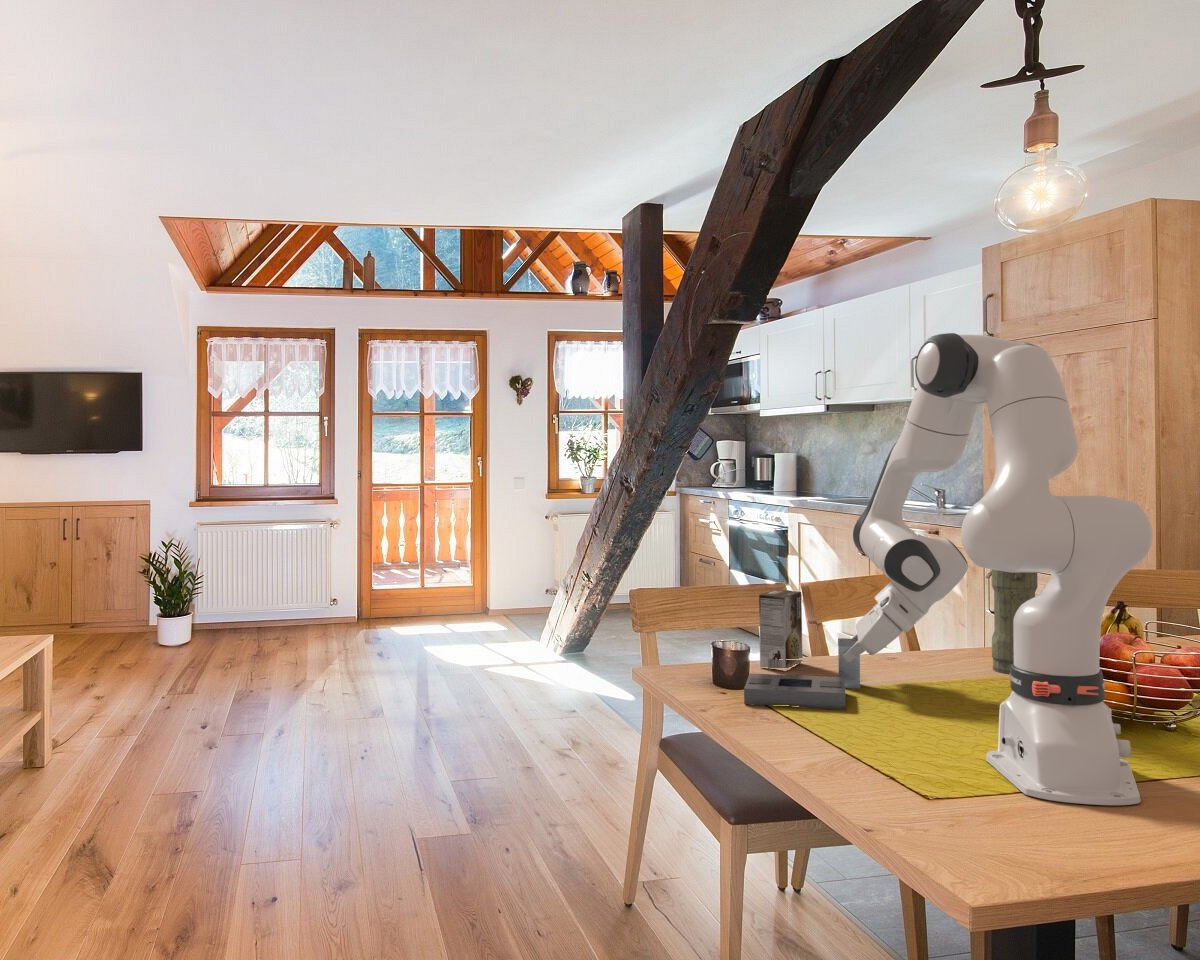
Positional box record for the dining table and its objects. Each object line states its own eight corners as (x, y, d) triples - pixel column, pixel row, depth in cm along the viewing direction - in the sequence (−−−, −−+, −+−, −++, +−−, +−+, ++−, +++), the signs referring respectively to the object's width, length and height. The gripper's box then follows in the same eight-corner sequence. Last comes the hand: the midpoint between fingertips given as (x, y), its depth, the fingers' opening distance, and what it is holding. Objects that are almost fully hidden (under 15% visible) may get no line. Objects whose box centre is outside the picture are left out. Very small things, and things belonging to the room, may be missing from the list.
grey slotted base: (845, 709, 159) (845, 692, 159) (744, 704, 163) (743, 687, 163) (844, 693, 170) (844, 676, 170) (749, 688, 175) (749, 672, 175)
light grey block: (860, 688, 174) (859, 642, 173) (838, 687, 175) (838, 642, 174) (859, 683, 177) (859, 638, 177) (838, 682, 179) (837, 638, 178)
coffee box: (776, 660, 200) (775, 588, 199) (803, 663, 196) (802, 590, 196) (758, 668, 192) (757, 594, 192) (786, 672, 188) (785, 596, 188)
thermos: (1027, 664, 192) (1026, 502, 191) (1047, 677, 180) (1046, 505, 180) (984, 663, 193) (983, 502, 193) (1001, 676, 182) (999, 505, 181)
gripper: (881, 589, 184) (833, 634, 187) (888, 604, 164) (834, 655, 167) (904, 611, 183) (855, 656, 186) (913, 629, 163) (859, 679, 166)
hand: (845, 656), depth 176 cm, fingers closed on light grey block, 4 cm apart
